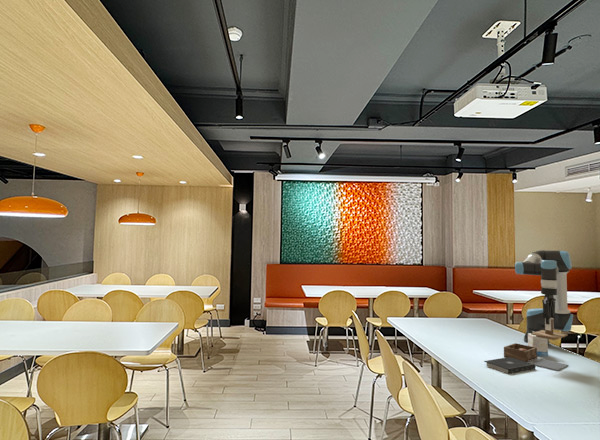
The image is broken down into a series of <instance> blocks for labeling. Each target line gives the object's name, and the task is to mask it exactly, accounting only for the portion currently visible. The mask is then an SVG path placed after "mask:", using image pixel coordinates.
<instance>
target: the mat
mask: <svg viewBox="0 0 600 440" xmlns="http://www.w3.org/2000/svg"><path fill="white" fill-rule="evenodd" d="M531 364H535V367H540V368H544V369H548V370H552V371H555V372H560V371H561V370H564V369H565V368H567V367H569V364H568V363H562V362H557V361H553V360H549V359H544V358H541V359H539V360H536V361H534V362H532V363H531Z"/></svg>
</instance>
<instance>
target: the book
mask: <svg viewBox="0 0 600 440" xmlns="http://www.w3.org/2000/svg"><path fill="white" fill-rule="evenodd" d="M483 362H484V363H486V367H488V368H492V369H494V370H497V371H501V372H503V373H506V374H508V375H512V373H513V374H517V373H522V372H523V373H524V372H528V371H533V370H535V369H536V366H535V364H532V363H530V362H529V361H528V362H525V361H521V360H518V359H515V358H511V357H506V358H505V357H501V358H495V359H489V360H484V361H483Z"/></svg>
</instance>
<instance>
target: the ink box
mask: <svg viewBox="0 0 600 440" xmlns="http://www.w3.org/2000/svg"><path fill="white" fill-rule="evenodd" d="M533 332H534V331H533ZM527 346H531V347H536V348H537V357H538V356H539V357H549V351H548V350H549V345H548V341H547V339H545V338H540V337H536V336H535V335H531V333H528V343H527Z"/></svg>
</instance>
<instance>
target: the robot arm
mask: <svg viewBox="0 0 600 440" xmlns="http://www.w3.org/2000/svg"><path fill="white" fill-rule="evenodd" d="M572 267H573V263H572V259H571V254H570V252H568V251H566V250H545V249H544V250H543V249H542V250H536V251H532V252H531V253H529V254H527V255H526V256H525V259H524V261H515V263H514V271H515V274H516V275H528V276H540V277H541V278H540V287H541V288H540V293H541V295H544V297H543V299H542V308H537V307H536V308H528V309H527V311H526V315H525V316H526V330H525V333H524V336H523V341H524V343H527V344H528V333H534V332H537V331H540V330H549V331H551V319H553V331H561V332H570V331H571V330H572V327H573V326H572V325H573V319H574V314H573V313H571V311H570V309H569V308H568V289H567V288H568V284H567V281H568V280H567V276H568V275H567V274H568V273H570V270H572ZM533 331H534V332H533ZM547 341H548V346H549V345H550V339H547Z"/></svg>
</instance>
